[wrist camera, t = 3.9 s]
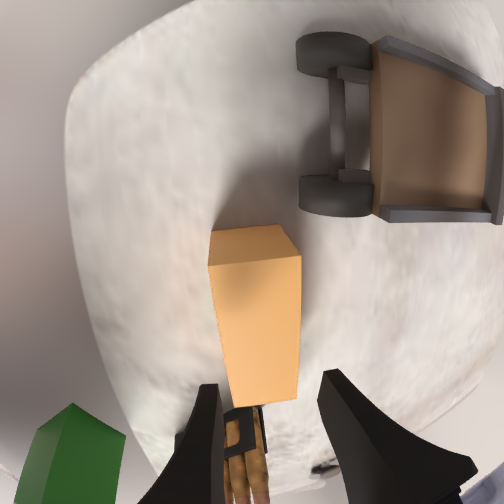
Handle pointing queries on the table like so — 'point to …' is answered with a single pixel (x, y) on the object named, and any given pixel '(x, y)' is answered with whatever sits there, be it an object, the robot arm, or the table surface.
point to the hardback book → (72, 461)
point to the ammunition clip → (244, 456)
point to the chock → (257, 311)
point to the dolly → (408, 134)
